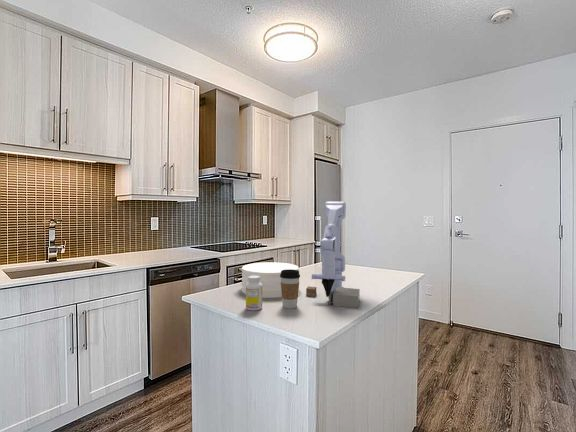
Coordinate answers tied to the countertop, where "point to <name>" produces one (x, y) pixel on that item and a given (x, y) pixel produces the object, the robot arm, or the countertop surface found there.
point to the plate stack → (266, 276)
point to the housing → (346, 297)
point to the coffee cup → (289, 287)
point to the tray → (331, 297)
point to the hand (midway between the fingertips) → (328, 296)
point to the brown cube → (311, 291)
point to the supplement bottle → (253, 293)
